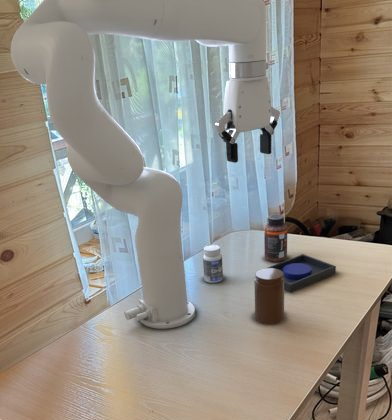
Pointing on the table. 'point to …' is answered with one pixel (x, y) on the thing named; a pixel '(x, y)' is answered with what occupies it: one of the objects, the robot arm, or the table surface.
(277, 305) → the jar
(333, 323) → the table surface
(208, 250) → the pill bottle
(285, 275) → the jar lid
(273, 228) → the supplement bottle
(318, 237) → the table surface
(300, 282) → the tray
